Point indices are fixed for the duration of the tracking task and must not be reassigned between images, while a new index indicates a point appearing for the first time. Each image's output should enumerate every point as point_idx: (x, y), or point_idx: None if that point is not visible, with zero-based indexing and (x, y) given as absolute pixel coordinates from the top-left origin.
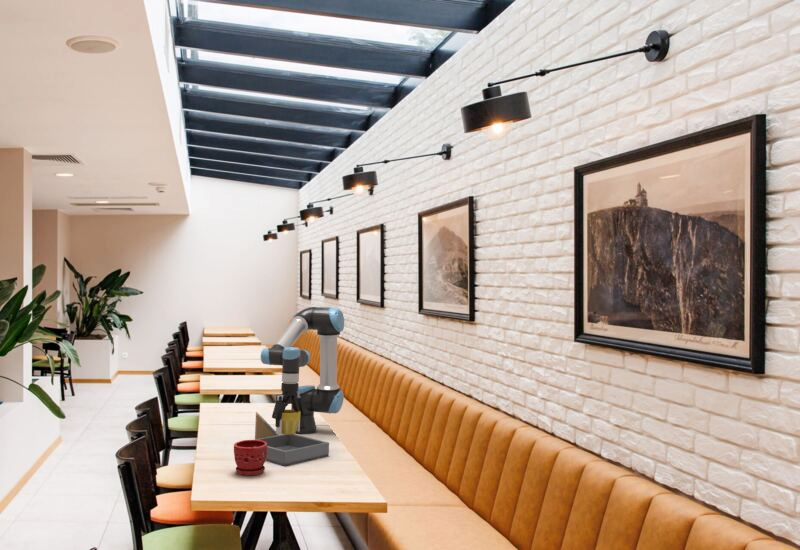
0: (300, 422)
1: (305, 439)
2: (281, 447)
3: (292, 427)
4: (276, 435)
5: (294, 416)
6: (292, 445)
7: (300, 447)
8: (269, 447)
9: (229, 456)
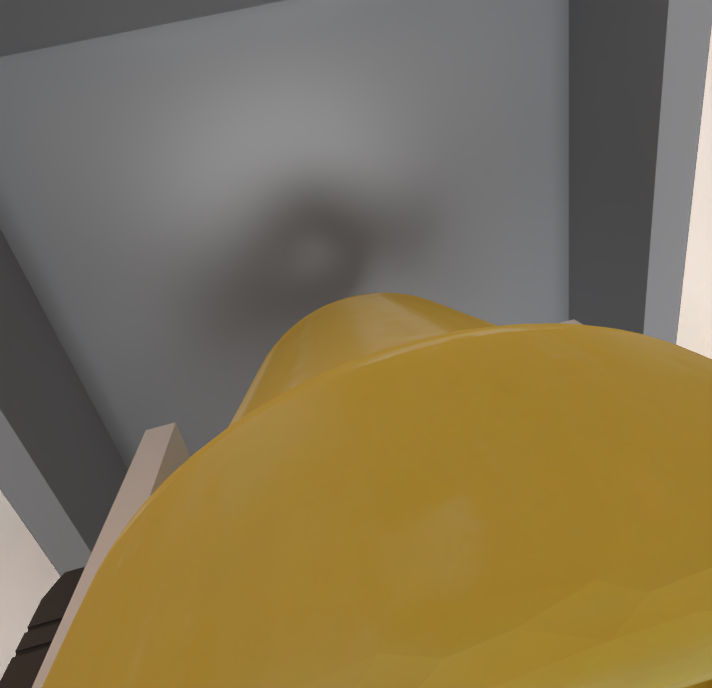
0: (54, 591)
1: (37, 441)
2: None
3: (427, 311)
4: None
5: (654, 394)
6: None
7: (110, 441)
8: (688, 194)
9: None
